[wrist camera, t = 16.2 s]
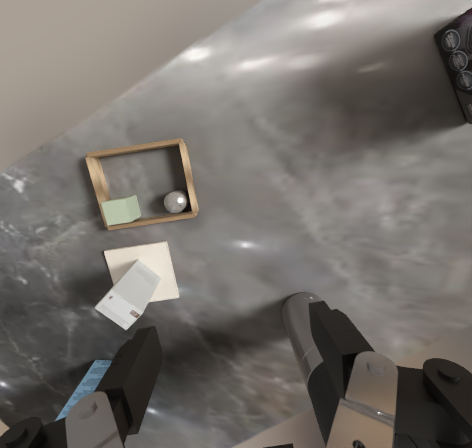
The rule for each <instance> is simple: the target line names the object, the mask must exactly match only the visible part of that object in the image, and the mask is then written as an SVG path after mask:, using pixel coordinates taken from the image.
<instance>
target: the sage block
mask: <svg viewBox="0 0 472 448" xmlns="http://www.w3.org/2000/svg"><path fill="white" fill-rule="evenodd" d="M101 205H102V208H103V212H104V215H105V218H106V222H107V225H108V226H109V225H115V224H121V223H128V222H132V221H134V220H135V219H137V218H139V217H141V213H140V209H139V205H138V201H137V197H136V195H134V196H128V197H121V198H115V199H111V200H108V201H104V202H101Z"/></svg>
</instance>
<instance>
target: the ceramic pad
mask: <svg viewBox="0 0 472 448" xmlns="http://www.w3.org/2000/svg"><path fill="white" fill-rule="evenodd" d="M104 254H105V257H106V260H107V264H108V267H109V270H110V274H111V277H112V281H113V284H114V285H115V283H116V282H117V281H118V280H119V279H120V278H121V277H122V276H123V275H124V274H125V273H126V271H127V270H128V269H129V268H130V267H131V266H132V265H133V264H134V263H135V262H136V261H137V260H139V261H141V262H142V263H143V264H144V265H146V266H147V267H148V268H150V269H151V270H152V271H153V272H155V273H156V274H157V275H158V276H160V277H161V280H160V282H159V283H158V285H157V287H156V289H155V291H154V293H153V295H152V296H151V298H150V300H149V302H154V301H160V300H167V299H173V298H179V292H178V288H177V283H176V279H175V274H174V270H173V266H172V261H171V257H170V253H169V248H168V244H167V241H162V242H155V243H148V244H142V245H135V246H129V247H122V248H116V249H109V250H105V251H104Z"/></svg>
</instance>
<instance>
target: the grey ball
mask: <svg viewBox="0 0 472 448" xmlns="http://www.w3.org/2000/svg"><path fill="white" fill-rule="evenodd" d="M188 203H189V197H188V195H187V193H186V192H184V191H182V190H175V191H173V192H171V193H169V194H167V195H166V197H165V199H164V205H165V207H166V209H167V210H168V211H170V212H172V213H179V212H181V211H182V210H183V209H184V208H185V207H186V206H187V205H188Z"/></svg>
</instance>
